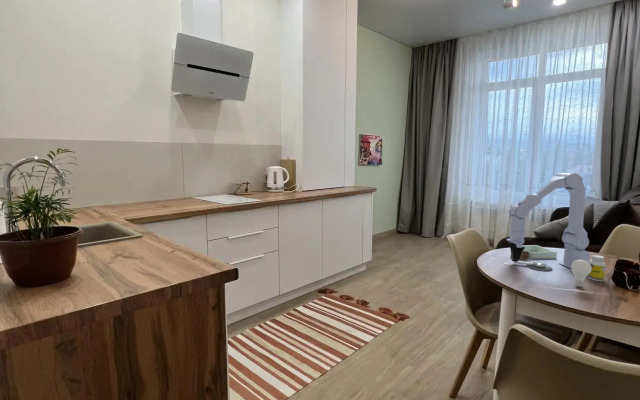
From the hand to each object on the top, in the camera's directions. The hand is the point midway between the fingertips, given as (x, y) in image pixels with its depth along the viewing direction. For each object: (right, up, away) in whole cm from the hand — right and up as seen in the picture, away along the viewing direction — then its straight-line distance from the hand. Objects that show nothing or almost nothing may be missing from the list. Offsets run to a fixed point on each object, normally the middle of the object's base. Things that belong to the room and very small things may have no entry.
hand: (515, 259), depth 160 cm
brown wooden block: (+12, 0, +12) cm, 16 cm away
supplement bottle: (+23, -5, -18) cm, 30 cm away
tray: (+19, -1, +18) cm, 26 cm away
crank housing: (+5, -3, -2) cm, 6 cm away
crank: (+5, -2, -1) cm, 6 cm away
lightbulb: (+9, -6, -27) cm, 30 cm away
